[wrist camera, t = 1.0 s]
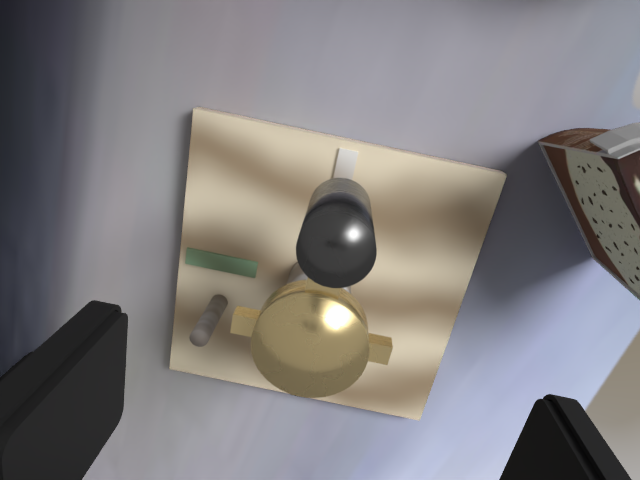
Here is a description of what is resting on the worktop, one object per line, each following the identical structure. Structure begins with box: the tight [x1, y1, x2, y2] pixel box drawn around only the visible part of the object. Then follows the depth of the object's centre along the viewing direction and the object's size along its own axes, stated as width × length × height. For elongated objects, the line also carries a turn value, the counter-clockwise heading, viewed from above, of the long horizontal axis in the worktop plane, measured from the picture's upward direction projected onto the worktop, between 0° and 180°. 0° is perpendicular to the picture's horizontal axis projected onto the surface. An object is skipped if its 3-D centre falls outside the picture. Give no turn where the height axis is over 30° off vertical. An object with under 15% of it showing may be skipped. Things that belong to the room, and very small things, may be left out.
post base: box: [169, 107, 507, 421], centre depth 30 cm, size 20×20×7 cm
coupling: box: [230, 178, 393, 398], centre depth 22 cm, size 12×9×6 cm
